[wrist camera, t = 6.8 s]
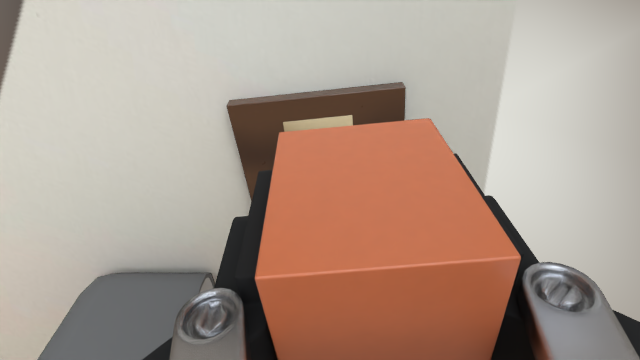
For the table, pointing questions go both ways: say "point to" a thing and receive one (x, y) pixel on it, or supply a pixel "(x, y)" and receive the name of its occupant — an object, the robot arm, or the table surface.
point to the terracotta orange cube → (380, 248)
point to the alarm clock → (124, 316)
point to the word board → (306, 118)
